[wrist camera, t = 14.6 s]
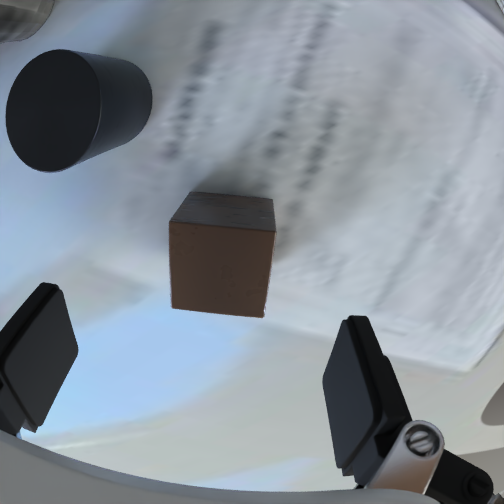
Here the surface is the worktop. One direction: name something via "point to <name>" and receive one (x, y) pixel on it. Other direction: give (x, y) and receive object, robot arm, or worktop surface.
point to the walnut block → (221, 254)
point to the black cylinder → (74, 108)
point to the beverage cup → (22, 18)
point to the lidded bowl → (501, 4)
